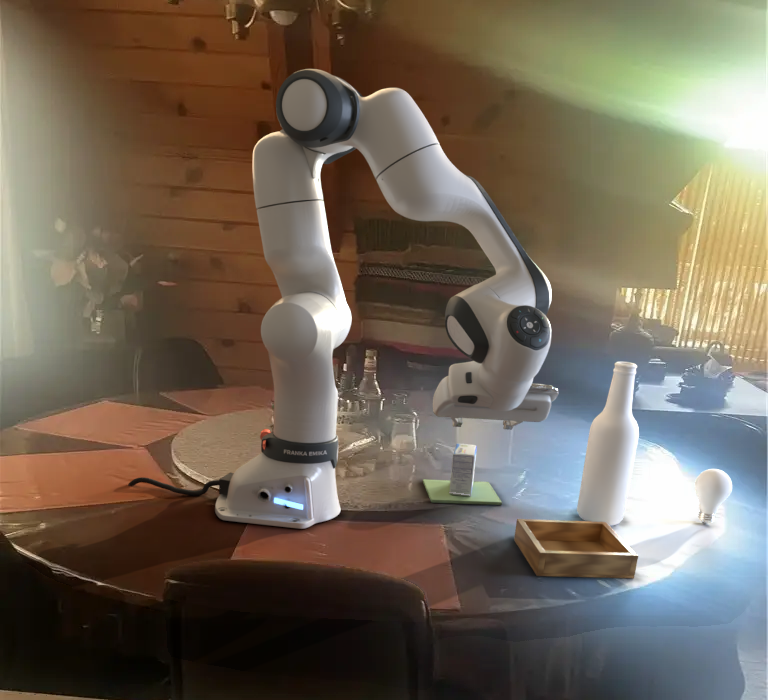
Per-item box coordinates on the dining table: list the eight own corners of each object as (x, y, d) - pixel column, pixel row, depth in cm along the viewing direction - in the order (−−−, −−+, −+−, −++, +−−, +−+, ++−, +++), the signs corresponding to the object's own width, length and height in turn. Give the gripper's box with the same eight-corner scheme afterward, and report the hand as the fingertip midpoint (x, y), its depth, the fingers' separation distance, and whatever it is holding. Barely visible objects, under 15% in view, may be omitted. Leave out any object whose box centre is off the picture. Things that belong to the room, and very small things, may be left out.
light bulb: (729, 525, 147) (742, 472, 143) (712, 532, 142) (725, 477, 139) (697, 514, 151) (709, 462, 148) (680, 520, 147) (691, 467, 144)
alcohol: (590, 506, 151) (615, 357, 142) (631, 519, 146) (659, 365, 137) (567, 515, 145) (592, 360, 136) (609, 530, 140) (638, 369, 130)
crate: (536, 576, 119) (540, 552, 117) (514, 539, 132) (516, 518, 131) (634, 578, 120) (638, 555, 119) (602, 542, 134) (605, 521, 132)
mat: (431, 502, 147) (431, 499, 146) (422, 481, 158) (422, 479, 158) (501, 505, 148) (502, 502, 148) (488, 484, 160) (488, 481, 159)
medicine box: (470, 497, 149) (475, 455, 147) (448, 494, 150) (452, 453, 147) (472, 485, 157) (477, 444, 154) (451, 482, 157) (455, 442, 155)
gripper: (560, 371, 128) (535, 413, 140) (441, 363, 125) (426, 406, 138) (564, 403, 125) (539, 443, 137) (442, 396, 123) (427, 437, 135)
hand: (481, 424), depth 137 cm, fingers open, 8 cm apart
